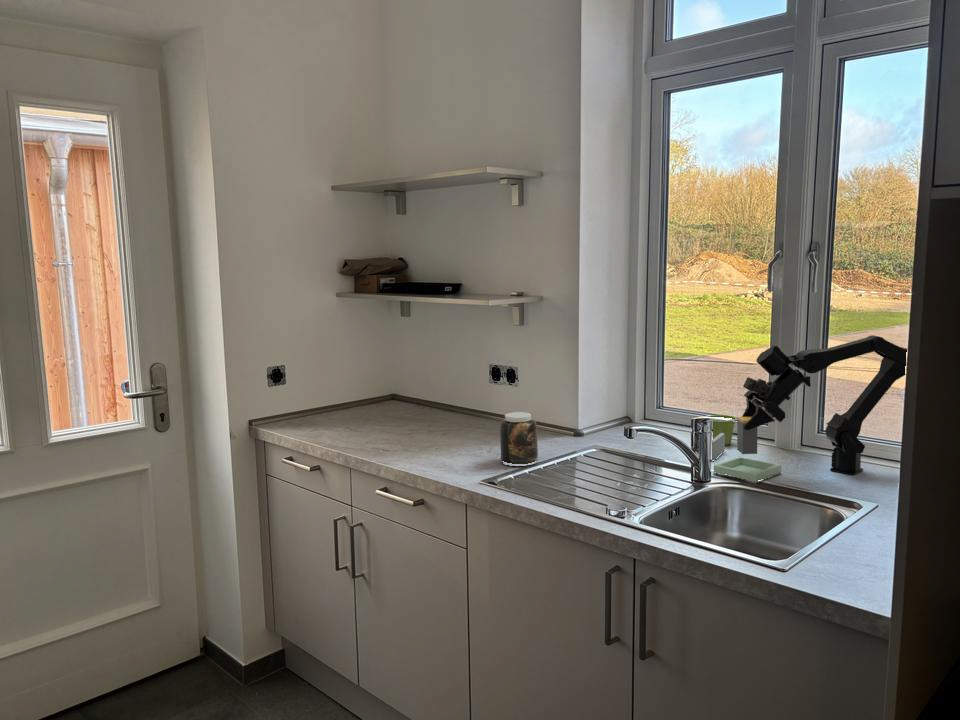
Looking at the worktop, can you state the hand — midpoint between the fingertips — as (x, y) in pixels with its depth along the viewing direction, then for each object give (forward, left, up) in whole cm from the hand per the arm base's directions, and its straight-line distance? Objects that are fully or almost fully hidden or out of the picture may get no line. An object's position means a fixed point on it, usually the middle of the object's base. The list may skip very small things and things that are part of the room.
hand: (742, 427), depth 209 cm
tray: (-1, -1, -13) cm, 13 cm away
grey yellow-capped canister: (-1, -1, -7) cm, 7 cm away
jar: (+55, +35, -14) cm, 67 cm away
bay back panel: (+15, -11, -13) cm, 23 cm away
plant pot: (+23, -25, -14) cm, 36 cm away
